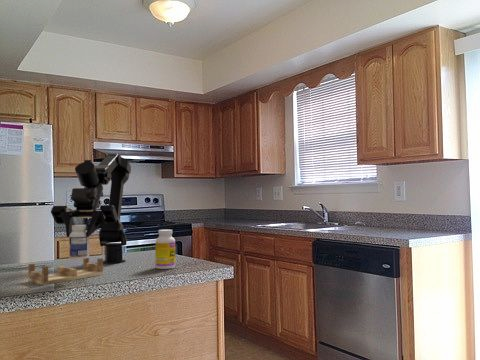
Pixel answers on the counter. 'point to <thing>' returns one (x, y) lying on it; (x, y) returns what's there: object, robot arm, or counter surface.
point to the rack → (65, 273)
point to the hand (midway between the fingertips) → (77, 236)
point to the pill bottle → (79, 242)
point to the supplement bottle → (165, 250)
